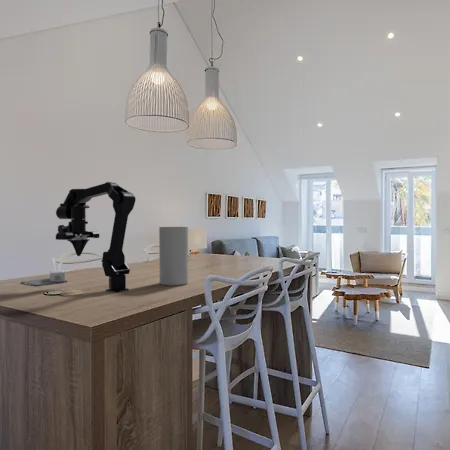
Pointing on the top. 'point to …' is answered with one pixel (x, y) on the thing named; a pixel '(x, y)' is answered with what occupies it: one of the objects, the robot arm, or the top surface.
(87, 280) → the top surface
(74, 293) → the cork coaster
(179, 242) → the cylinder vase
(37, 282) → the felt mat
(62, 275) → the skincare box
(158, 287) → the top surface
